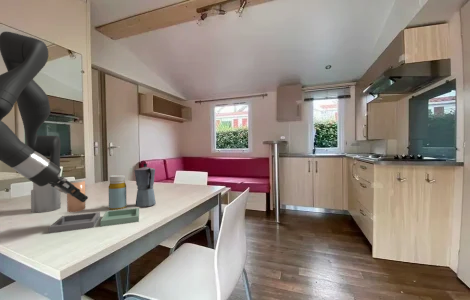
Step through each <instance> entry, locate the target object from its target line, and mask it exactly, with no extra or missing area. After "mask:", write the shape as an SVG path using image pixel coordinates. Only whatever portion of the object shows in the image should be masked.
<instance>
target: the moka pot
mask: <svg viewBox="0 0 470 300" xmlns="http://www.w3.org/2000/svg"><path fill="white" fill-rule="evenodd" d="M147 165H148V164H147V163H143V167H139V168H136V169H134V171H133V172H134V175H135V176H134V177H135V183H136V186H137V187H136V188H137V191H136V199H135V207H138V208H143V207H144V208H146V207H151V206H154V205H156V196H155V189H154V184H155V174H156V168H153V167H148V166H147Z"/></svg>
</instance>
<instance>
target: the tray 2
mask: <svg viewBox="0 0 470 300" xmlns="http://www.w3.org/2000/svg"><path fill="white" fill-rule="evenodd" d="M131 223H140V207H134V208H127V209H126V208H123V209H118V210H108V211H105V212H104V214H103V216H102V218H101V220H100V227H108V226H116V225H123V224H131Z"/></svg>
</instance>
